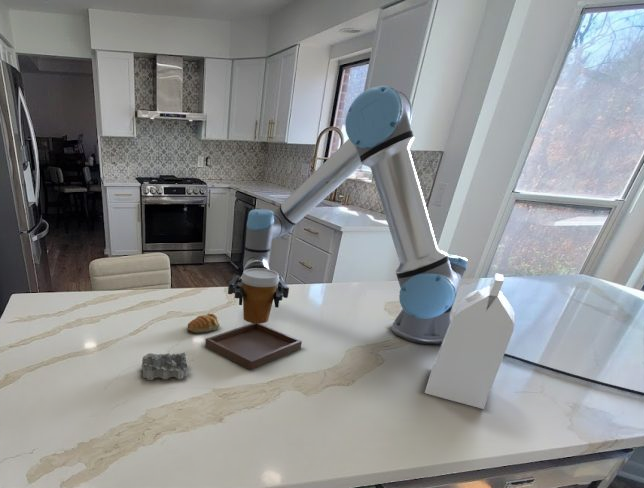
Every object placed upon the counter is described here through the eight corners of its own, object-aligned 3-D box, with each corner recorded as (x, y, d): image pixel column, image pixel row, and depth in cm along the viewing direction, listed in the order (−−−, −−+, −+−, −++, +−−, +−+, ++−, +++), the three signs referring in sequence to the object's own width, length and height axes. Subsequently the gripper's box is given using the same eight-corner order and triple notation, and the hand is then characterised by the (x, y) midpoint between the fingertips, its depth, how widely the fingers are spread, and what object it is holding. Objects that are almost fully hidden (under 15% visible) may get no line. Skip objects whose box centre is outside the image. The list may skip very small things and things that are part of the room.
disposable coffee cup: (232, 322, 108) (236, 275, 102) (243, 310, 116) (247, 265, 110) (269, 329, 105) (275, 281, 99) (277, 316, 113) (284, 270, 107)
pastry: (196, 336, 120) (196, 323, 118) (181, 329, 124) (181, 316, 122) (221, 328, 125) (222, 316, 123) (206, 321, 129) (206, 309, 127)
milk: (483, 409, 91) (536, 290, 78) (424, 393, 96) (464, 279, 83) (484, 385, 100) (532, 275, 87) (430, 371, 105) (468, 266, 92)
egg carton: (141, 380, 98) (140, 365, 96) (142, 365, 104) (142, 350, 102) (187, 380, 99) (188, 364, 96) (186, 365, 105) (186, 349, 103)
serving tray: (300, 348, 115) (302, 340, 114) (250, 370, 104) (251, 361, 102) (254, 329, 125) (255, 321, 124) (205, 346, 114) (205, 338, 113)
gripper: (291, 289, 124) (300, 318, 104) (219, 284, 125) (215, 312, 106) (295, 263, 120) (305, 288, 100) (221, 258, 121) (216, 283, 102)
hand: (259, 301), depth 103 cm, fingers closed on disposable coffee cup, 8 cm apart
